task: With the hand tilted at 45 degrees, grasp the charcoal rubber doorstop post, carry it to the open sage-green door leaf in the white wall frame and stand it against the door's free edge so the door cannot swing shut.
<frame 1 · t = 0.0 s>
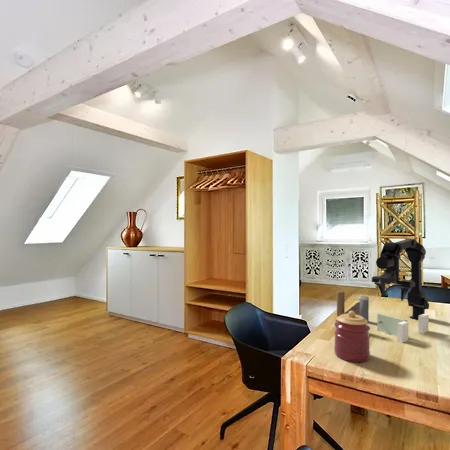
hand: (392, 298, 151), 15 cm above the table, tool pointing down, fingers open, 9 cm apart
canister: (351, 356, 120), on the table
door: (391, 325, 143), point 4 cm above the table, hinge at 88.0°
wall frame: (413, 335, 141), on the table
doorstop post: (363, 321, 162), on the table
toy block tower: (347, 329, 150), on the table
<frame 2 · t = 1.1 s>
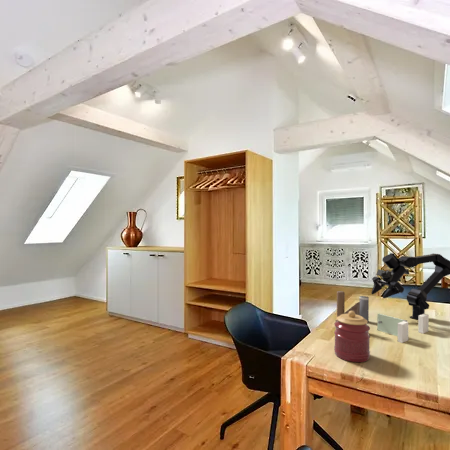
hand: (377, 295, 163), 13 cm above the table, tool tilted 45°, fingers open, 9 cm apart
nothing on the table moved.
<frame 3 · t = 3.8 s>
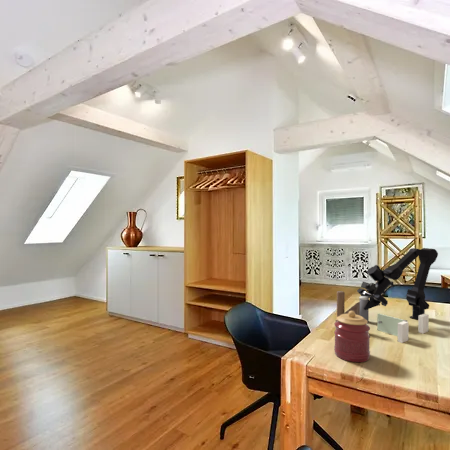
hand: (361, 308, 162), 7 cm above the table, tool tilted 45°, fingers closed on doorstop post, 4 cm apart
doorstop post: (363, 321, 162), on the table, touching gripper
everything else where it was.
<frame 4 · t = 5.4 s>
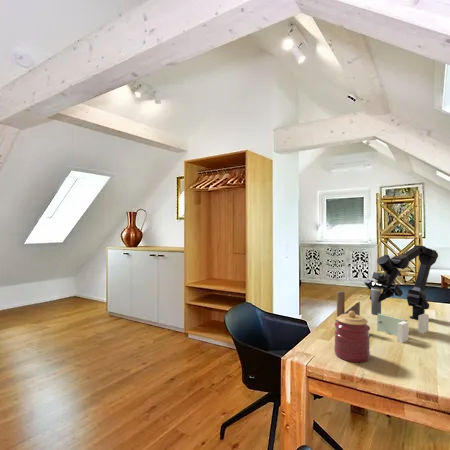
hand: (374, 300, 154), 13 cm above the table, tool tilted 45°, fingers closed on doorstop post, 4 cm apart
doorstop post: (376, 314, 154), point 6 cm above the table, touching gripper
everything else where it was.
when the fingers open (8 cm above the table, at t = 7.1 s): doorstop post stays where it is, on the table.
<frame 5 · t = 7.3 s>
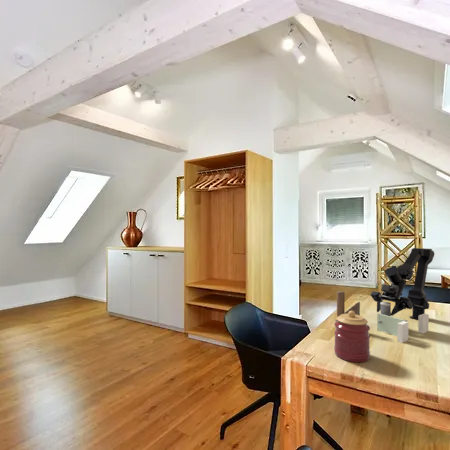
hand: (384, 313, 149), 8 cm above the table, tool tilted 45°, fingers open, 7 cm apart
doorstop post: (385, 329, 150), on the table
everything else where it was.
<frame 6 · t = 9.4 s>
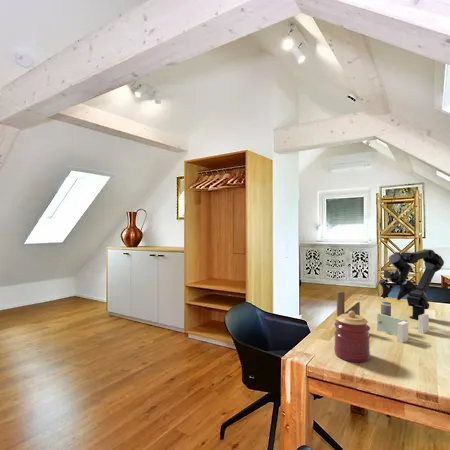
hand: (390, 298, 156), 13 cm above the table, tool tilted 35°, fingers open, 9 cm apart
nothing on the table moved.
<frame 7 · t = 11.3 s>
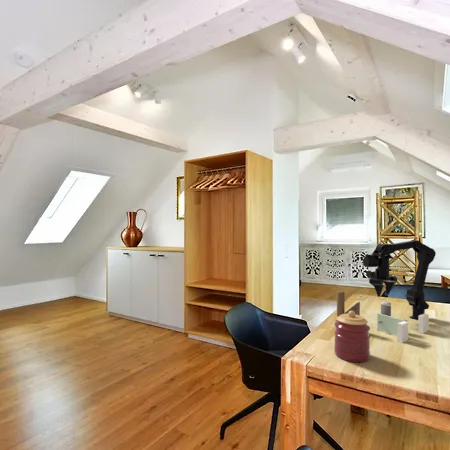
hand: (383, 295, 165), 13 cm above the table, tool pointing down, fingers open, 9 cm apart
nothing on the table moved.
at the end: doorstop post 0.4 cm from the target spot, on the table; doorstop post tilted 0°; door at +88° (first picture: +88°) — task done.
